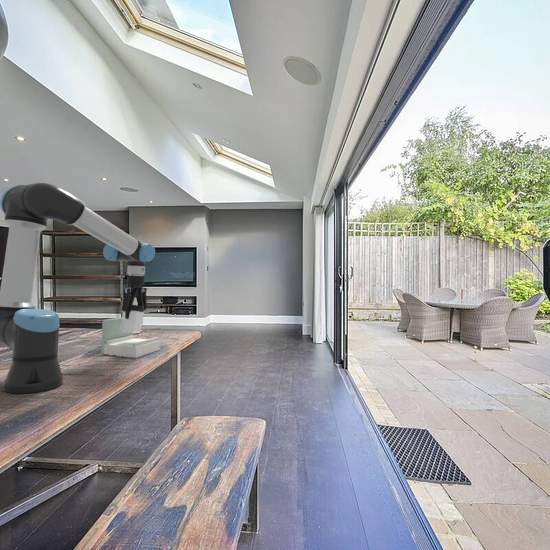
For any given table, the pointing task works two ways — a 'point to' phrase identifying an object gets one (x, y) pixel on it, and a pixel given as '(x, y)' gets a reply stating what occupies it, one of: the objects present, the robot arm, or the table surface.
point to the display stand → (125, 341)
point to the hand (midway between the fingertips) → (134, 325)
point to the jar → (133, 320)
